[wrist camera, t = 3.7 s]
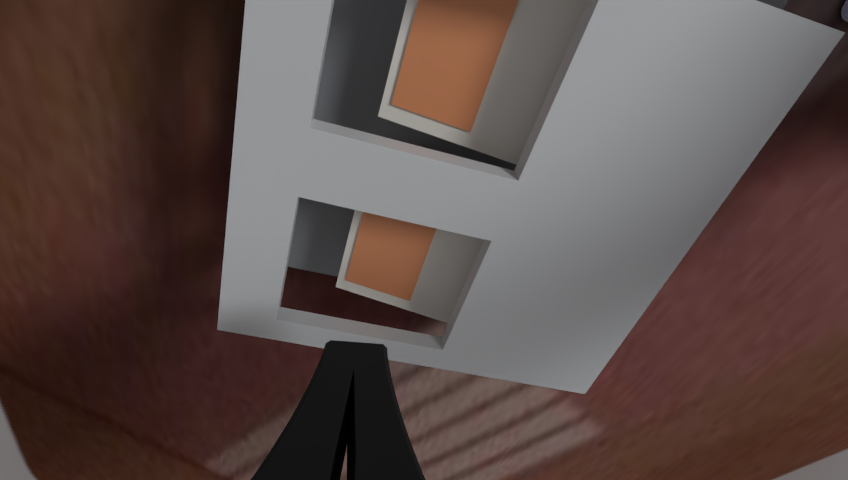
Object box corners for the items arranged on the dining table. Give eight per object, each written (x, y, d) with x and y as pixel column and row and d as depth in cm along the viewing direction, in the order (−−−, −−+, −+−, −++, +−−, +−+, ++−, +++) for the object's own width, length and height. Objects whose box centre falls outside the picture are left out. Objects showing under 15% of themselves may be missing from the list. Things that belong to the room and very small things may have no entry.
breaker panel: (747, -15, 17) (917, 30, 11) (567, 291, 24) (616, 408, 19) (301, -179, 14) (233, -227, 9) (252, 223, 22) (200, 338, 16)
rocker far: (572, 209, 17) (579, 238, 16) (517, 314, 20) (518, 347, 18) (378, 144, 17) (365, 166, 15) (348, 259, 20) (334, 288, 18)
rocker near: (681, 10, 14) (702, 19, 12) (595, 170, 16) (603, 196, 15) (437, -77, 13) (425, -78, 12) (391, 99, 16) (377, 117, 15)
